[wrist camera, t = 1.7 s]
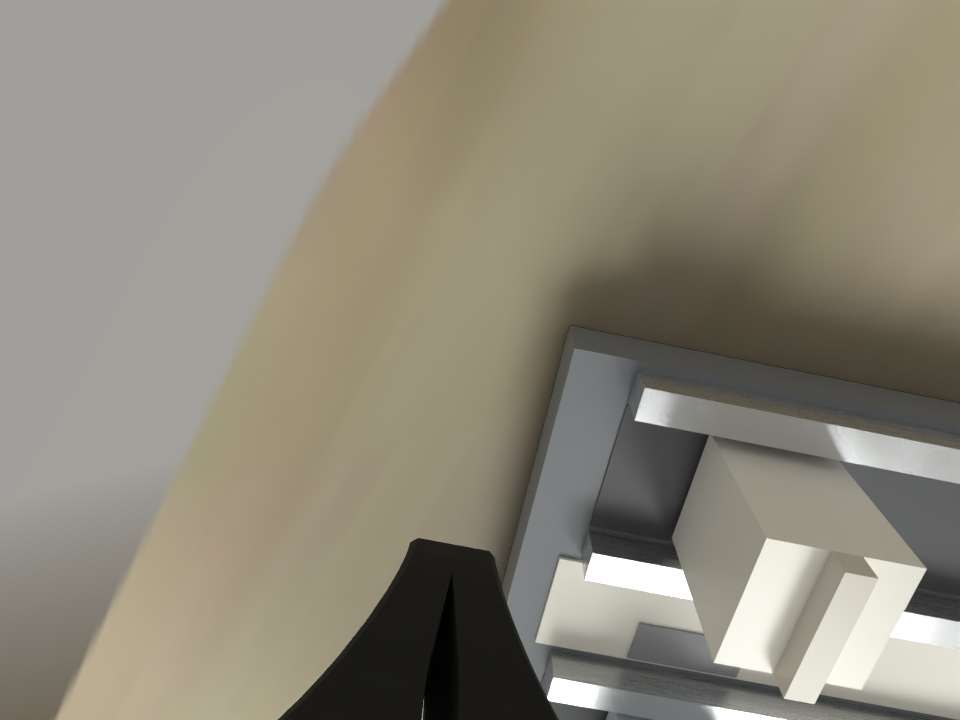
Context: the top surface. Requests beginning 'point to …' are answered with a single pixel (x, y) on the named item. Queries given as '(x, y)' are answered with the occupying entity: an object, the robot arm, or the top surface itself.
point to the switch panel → (657, 507)
